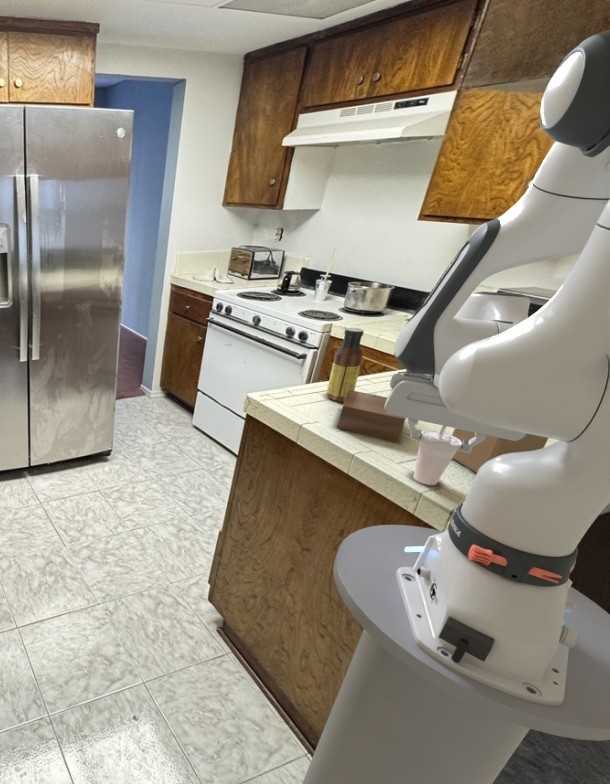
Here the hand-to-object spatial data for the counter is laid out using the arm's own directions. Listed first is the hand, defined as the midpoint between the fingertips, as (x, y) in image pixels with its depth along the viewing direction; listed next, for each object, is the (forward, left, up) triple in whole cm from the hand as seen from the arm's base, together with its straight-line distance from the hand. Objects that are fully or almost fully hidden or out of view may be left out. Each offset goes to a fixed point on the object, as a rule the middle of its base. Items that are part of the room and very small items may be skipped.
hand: (439, 444), depth 91 cm
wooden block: (+14, -10, -8) cm, 19 cm away
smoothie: (0, 0, -8) cm, 8 cm away
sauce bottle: (+35, +19, -8) cm, 41 cm away
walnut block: (+21, +11, -8) cm, 25 cm away
